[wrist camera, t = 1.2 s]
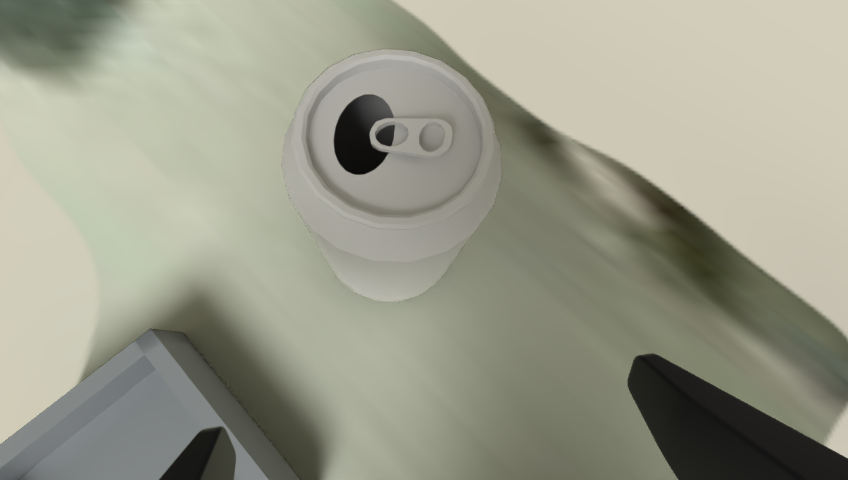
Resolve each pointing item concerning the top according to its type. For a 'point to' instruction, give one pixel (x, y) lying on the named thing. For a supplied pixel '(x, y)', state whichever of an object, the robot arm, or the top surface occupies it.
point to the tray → (138, 420)
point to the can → (391, 169)
